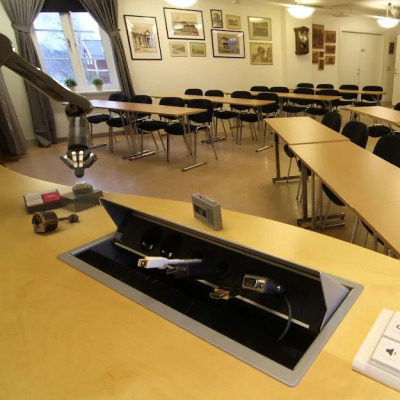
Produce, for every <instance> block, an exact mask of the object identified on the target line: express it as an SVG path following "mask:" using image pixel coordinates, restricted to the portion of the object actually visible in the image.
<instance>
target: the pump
mask: <svg viewBox="0 0 400 400" xmlns="http://www.w3.org/2000/svg"><path fill="white" fill-rule="evenodd" d="M87 184H88V182H87V181H84V180H82V181H77V182H75V186H76V187H77V188H85V187H88V186H87Z"/></svg>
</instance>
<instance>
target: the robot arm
mask: <svg viewBox="0 0 400 400" xmlns="http://www.w3.org/2000/svg"><path fill="white" fill-rule="evenodd" d="M2 67H5V68H7V69H8V70H10V71H12V72H13V73H14V74H16V75H17V76H19V77H20V78H21V79H22V80H24V81H26V82H27V83H28V84H30V85H31V86H33V87H34V88H35V89H36V90H38V91H39V92H41V93H42V94H44V95H45V96H46V97H47V98H49V99H51V100H52V101H54V102H55V103H58V104H60V103H66V104H65V105H64V107H63V113H64V115H65V118H66V121H67V124H68V126H67V127H68V128H67V129H68V130H67V152H65V155H63V156H62V155H61V156H59V160H60V161H61V162H62V163H63V164H64V165H65V166H67V167H68V168H69V169H70V170H73V172H74V173H73V174H74V176H75V177H76V178H77V179H83V177H85V169H90V168H91V167H92V166H93V165H94V164H95V163H96V162H97V161H98V159H99V157H98V155H97V154H95V153H92V151H91V148H92V147H91V141H92V140H91V134H90V122H89V120H88V119H87V118H86V117H85V116H88V115H90V114H91V113H93V111H94V105H93V103H92V102H91V101H90V100H89V99H88V98H87V97H85V96H83V95H81V94H79V93H77V92H75V91H73V90H71V89H69V88H67V87H65V86H64V85H63V84H62V83H60V82H59V81H58V80H56V79H55V78H53V76H51V75H49V74H48V73H46V72H44V71H43V70H41V69H40V68H38V67H36V66H35V65H33V64H32V63H31V62H29V61H27V59H25V58H24V57H23V56H21V55H20V54H19V53H18V52H16V51H15V46H14V44H13V41H12V40H11V39H10V37H8V36H7V35H6V34H4V33H2V32H0V69H1V68H2ZM69 159H70V160H71V162H73V164H72V163H71V162H70V161H69Z"/></svg>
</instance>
